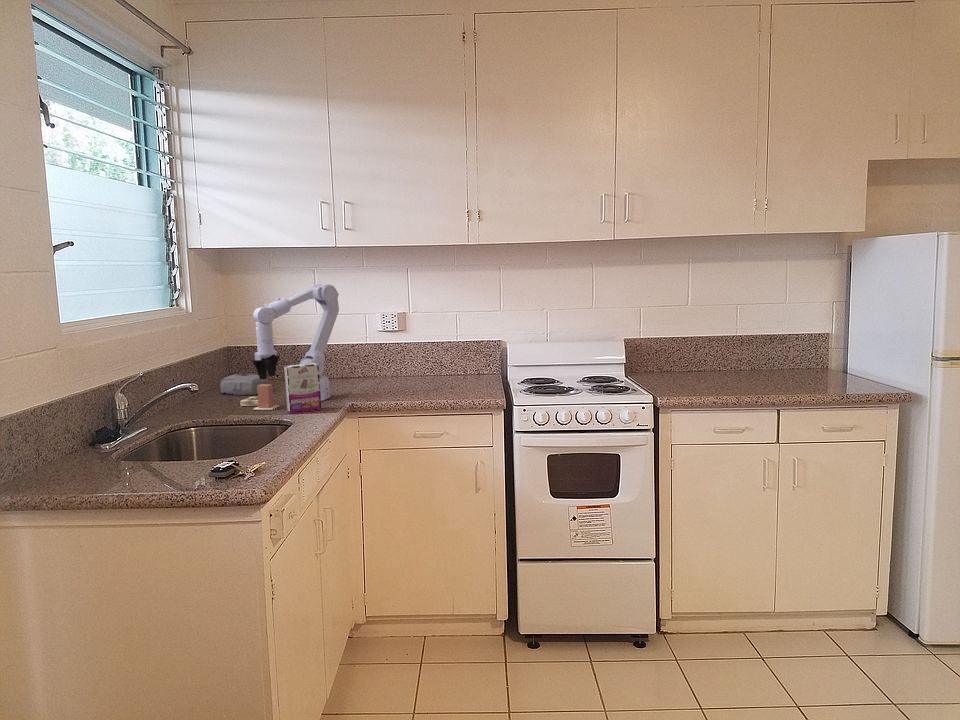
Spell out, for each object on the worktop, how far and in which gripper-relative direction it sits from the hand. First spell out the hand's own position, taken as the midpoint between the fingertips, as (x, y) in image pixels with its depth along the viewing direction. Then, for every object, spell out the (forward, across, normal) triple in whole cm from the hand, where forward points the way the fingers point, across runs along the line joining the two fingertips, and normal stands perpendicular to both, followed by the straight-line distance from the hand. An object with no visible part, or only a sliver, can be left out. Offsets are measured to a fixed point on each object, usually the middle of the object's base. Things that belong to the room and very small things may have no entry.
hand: (267, 377), depth 264 cm
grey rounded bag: (+11, -27, -23) cm, 37 cm away
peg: (+10, +7, +2) cm, 12 cm away
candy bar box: (+11, +10, +17) cm, 23 cm away
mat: (+10, +7, +2) cm, 12 cm away
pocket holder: (+10, -1, -5) cm, 12 cm away
